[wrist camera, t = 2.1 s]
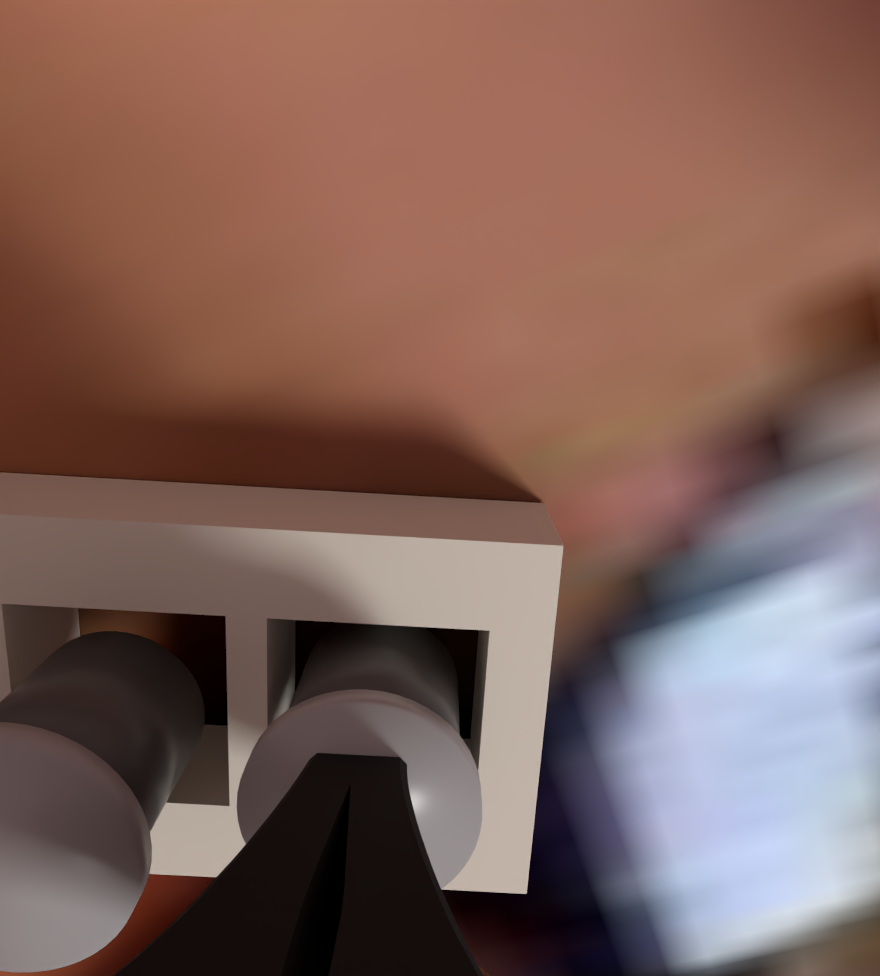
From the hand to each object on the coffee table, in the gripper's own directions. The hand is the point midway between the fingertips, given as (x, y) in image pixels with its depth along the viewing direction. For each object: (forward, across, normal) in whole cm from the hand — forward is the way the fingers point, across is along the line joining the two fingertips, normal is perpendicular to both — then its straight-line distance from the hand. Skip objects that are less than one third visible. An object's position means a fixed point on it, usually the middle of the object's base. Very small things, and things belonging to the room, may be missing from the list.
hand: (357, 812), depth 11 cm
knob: (+4, 0, 0) cm, 4 cm away
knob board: (+5, +4, 0) cm, 7 cm away
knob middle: (+2, +4, 0) cm, 5 cm away
